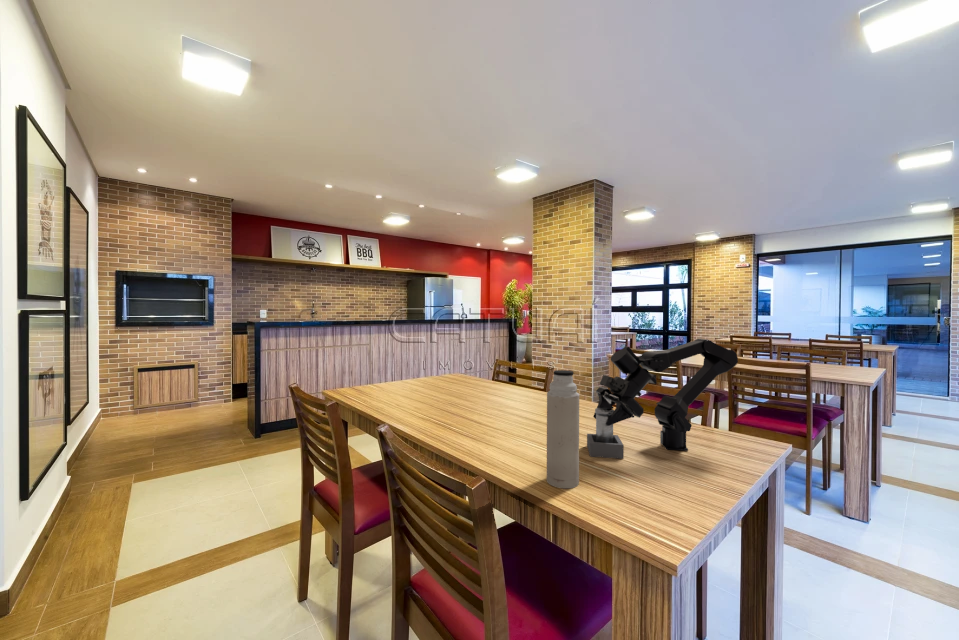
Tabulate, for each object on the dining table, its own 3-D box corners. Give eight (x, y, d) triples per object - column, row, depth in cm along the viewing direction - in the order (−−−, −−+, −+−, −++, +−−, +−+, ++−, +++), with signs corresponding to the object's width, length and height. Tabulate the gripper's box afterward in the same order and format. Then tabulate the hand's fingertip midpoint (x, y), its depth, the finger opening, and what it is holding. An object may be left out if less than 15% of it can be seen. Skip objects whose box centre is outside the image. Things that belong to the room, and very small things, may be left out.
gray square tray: (617, 447, 121) (617, 435, 121) (623, 458, 111) (623, 445, 111) (586, 445, 122) (587, 433, 122) (590, 456, 113) (590, 443, 113)
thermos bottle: (540, 482, 95) (541, 371, 95) (555, 472, 102) (556, 367, 101) (570, 491, 90) (570, 374, 90) (584, 480, 96) (584, 370, 96)
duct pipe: (617, 452, 116) (617, 410, 116) (607, 456, 113) (607, 413, 113) (601, 447, 121) (601, 406, 121) (591, 451, 117) (591, 409, 117)
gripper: (601, 362, 126) (570, 397, 124) (634, 370, 108) (598, 411, 106) (622, 385, 128) (592, 419, 126) (659, 397, 110) (623, 437, 108)
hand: (600, 421), depth 116 cm, fingers open, 7 cm apart
